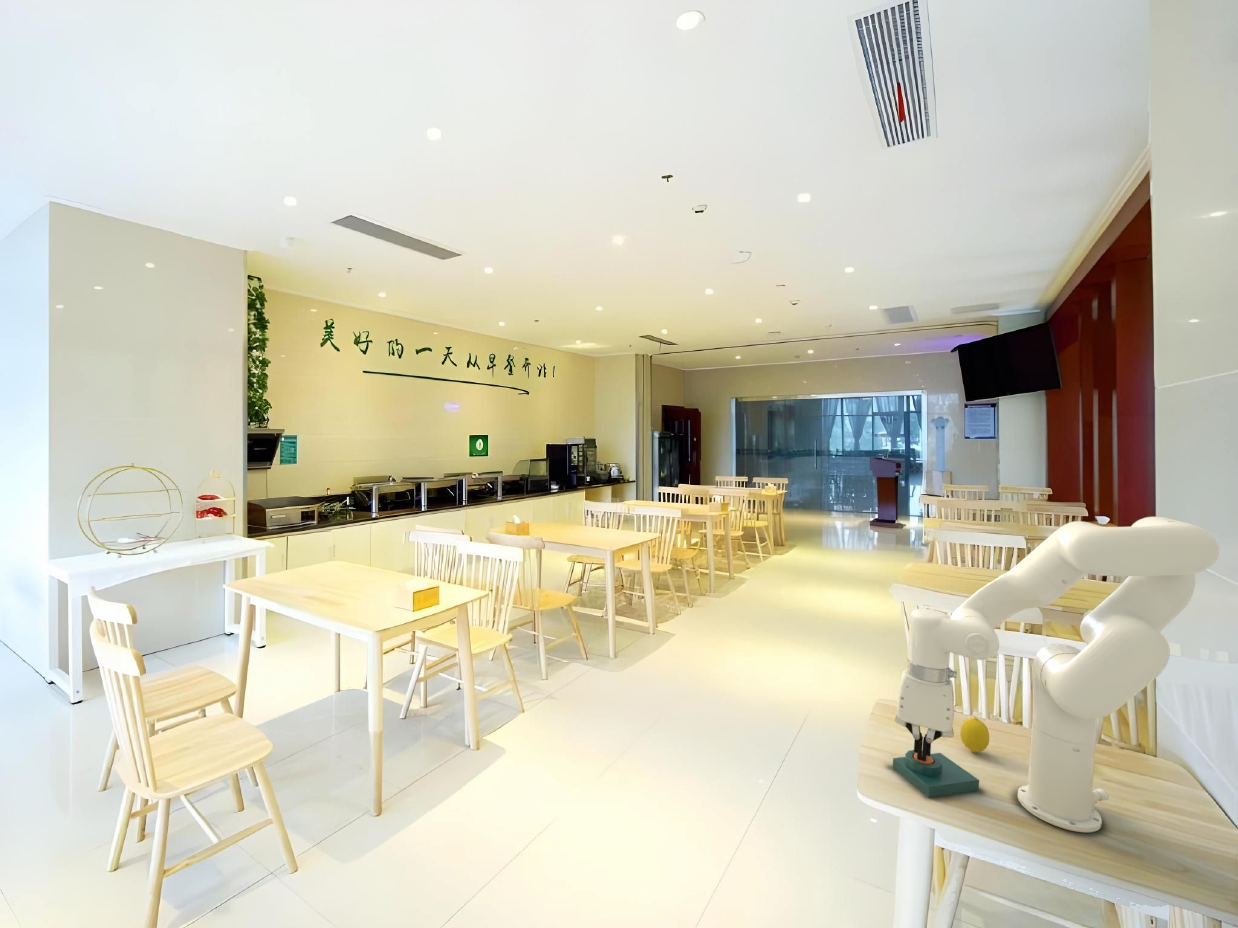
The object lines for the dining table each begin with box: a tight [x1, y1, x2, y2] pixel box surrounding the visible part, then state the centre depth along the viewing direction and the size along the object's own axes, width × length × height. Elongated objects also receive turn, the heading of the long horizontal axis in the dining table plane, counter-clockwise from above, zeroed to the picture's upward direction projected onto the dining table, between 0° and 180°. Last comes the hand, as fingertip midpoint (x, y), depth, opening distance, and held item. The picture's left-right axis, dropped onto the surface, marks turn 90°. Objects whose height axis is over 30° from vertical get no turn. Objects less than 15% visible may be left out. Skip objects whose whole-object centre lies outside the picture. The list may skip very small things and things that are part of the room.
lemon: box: [959, 717, 990, 754], centre depth 126 cm, size 6×6×8 cm
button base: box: [892, 749, 980, 798], centre depth 115 cm, size 12×10×4 cm
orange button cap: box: [914, 753, 933, 765], centre depth 116 cm, size 4×4×2 cm
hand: (921, 756), depth 116 cm, fingers closed
